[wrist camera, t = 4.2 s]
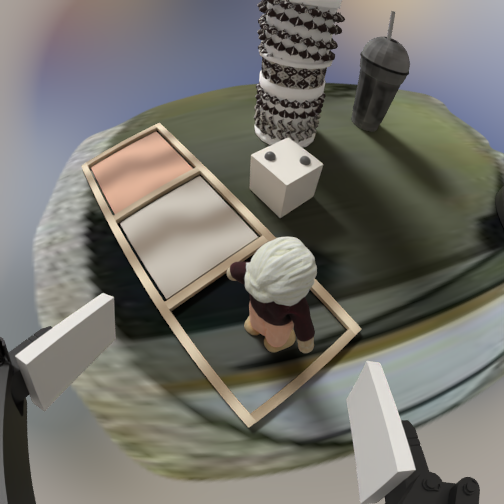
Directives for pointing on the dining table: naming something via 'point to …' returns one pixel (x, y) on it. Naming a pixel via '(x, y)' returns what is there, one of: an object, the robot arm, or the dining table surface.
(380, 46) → the beverage cup
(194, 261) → the wooden flat rectangular frame
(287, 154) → the ivory die
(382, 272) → the dining table surface
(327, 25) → the decorative candle
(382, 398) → the robot arm
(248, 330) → the grandmother figurine
